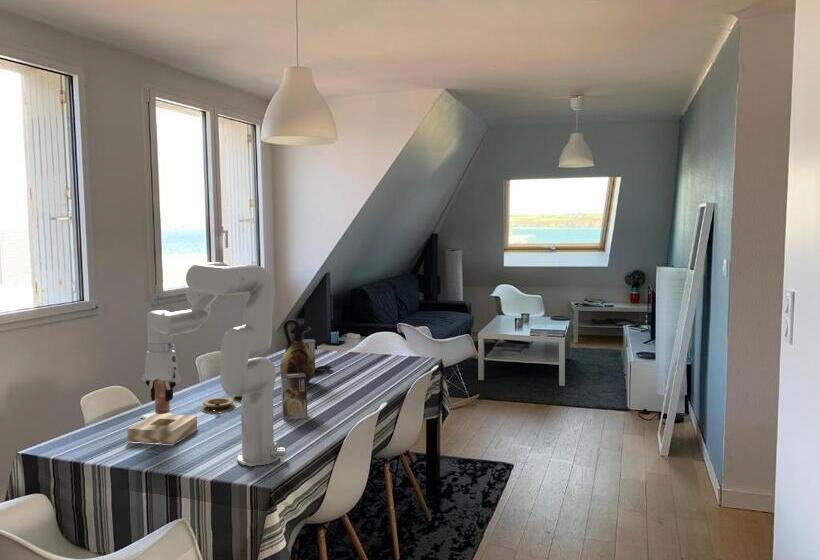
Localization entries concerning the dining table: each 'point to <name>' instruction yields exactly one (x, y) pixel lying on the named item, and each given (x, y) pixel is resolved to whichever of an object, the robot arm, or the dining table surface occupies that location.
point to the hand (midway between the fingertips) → (162, 399)
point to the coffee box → (294, 396)
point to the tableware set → (220, 404)
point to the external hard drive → (152, 414)
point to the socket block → (162, 429)
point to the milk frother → (311, 347)
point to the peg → (160, 397)
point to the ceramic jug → (297, 352)
